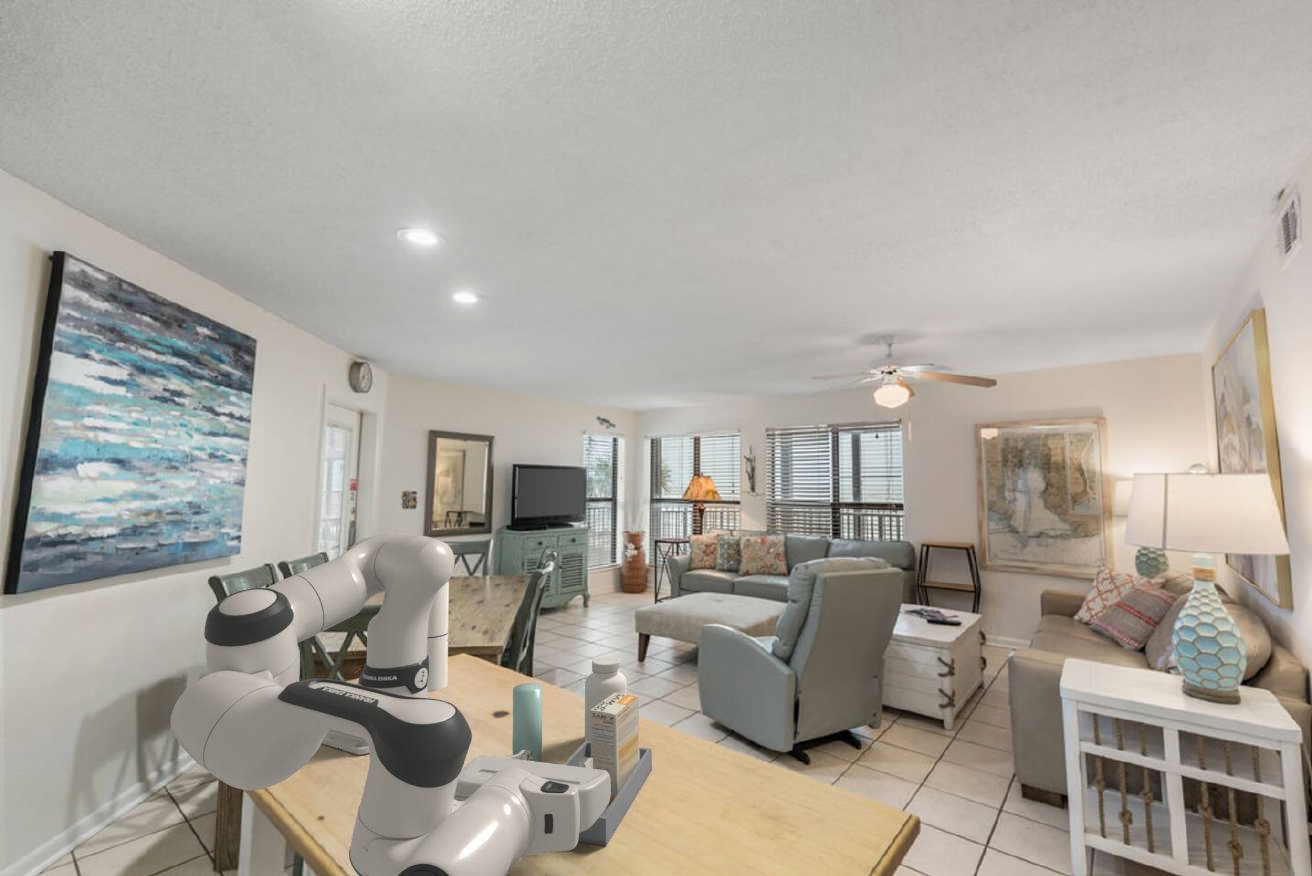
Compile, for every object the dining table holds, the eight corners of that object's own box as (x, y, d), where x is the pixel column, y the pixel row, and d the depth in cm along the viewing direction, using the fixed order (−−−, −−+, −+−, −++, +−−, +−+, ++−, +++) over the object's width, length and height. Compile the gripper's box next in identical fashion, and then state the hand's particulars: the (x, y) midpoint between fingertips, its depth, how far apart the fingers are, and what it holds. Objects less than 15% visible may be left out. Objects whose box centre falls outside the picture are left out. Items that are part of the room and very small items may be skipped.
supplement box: (615, 772, 94) (614, 690, 95) (641, 778, 92) (639, 694, 93) (589, 797, 86) (588, 708, 87) (617, 804, 84) (616, 713, 86)
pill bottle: (621, 752, 102) (620, 667, 104) (579, 749, 104) (578, 665, 105) (631, 733, 110) (630, 654, 111) (592, 731, 112) (591, 653, 113)
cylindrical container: (410, 691, 136) (412, 585, 138) (426, 681, 143) (428, 580, 145) (437, 692, 135) (439, 585, 137) (452, 682, 142) (454, 581, 144)
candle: (506, 770, 96) (507, 691, 98) (521, 756, 101) (522, 681, 102) (533, 773, 95) (533, 693, 96) (547, 759, 100) (547, 684, 101)
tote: (524, 832, 79) (524, 805, 79) (585, 761, 99) (585, 740, 99) (606, 846, 75) (605, 818, 76) (651, 769, 96) (651, 748, 96)
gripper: (433, 827, 70) (493, 773, 84) (586, 852, 65) (624, 790, 78) (434, 774, 71) (493, 729, 84) (586, 794, 66) (623, 743, 79)
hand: (557, 758), depth 81 cm, fingers open, 8 cm apart
